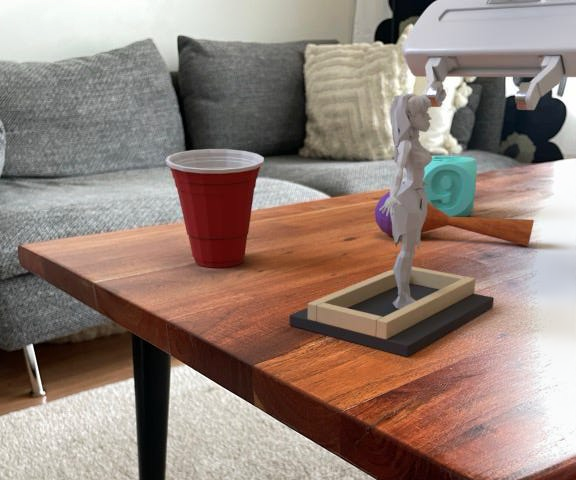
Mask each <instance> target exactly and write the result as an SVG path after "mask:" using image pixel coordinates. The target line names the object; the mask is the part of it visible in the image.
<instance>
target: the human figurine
mask: <svg viewBox="0 0 576 480" xmlns="http://www.w3.org/2000/svg"><path fill="white" fill-rule="evenodd" d="M431 106H432V105H431V100H430V99H429V98H428V97H425V96H422V95H418V94H416V93H414V92H411V93H408V92H404V93H403V94H398V95H395V96H394V99H393V101H392V104H391V105H390V108H389V119H390V125H391V133H392V141H393V159H394V160H393V161H394V163H395V164H396V166H397V170H396V171H395V173H394V174H393V176H392V178H391V182H390V186H389V192H390V197H389V198H387V199H386V201H385V204H384V205H383V206H382V208H380V211H381V210H382V209H383V208H385V209H384V210H383V212H382V214H383V213H384V212H385V210H386V209H387V208H388V211H387V214H386V216H388V214H389V211H390V216H391V221H392V231H393V236H392V237H393V240H394V245H395V248H397V247H398V245H399V243H400V251H399V252H398V254H397V256H396V258H395V261H394V264H393V267H392V269H393V271H394V275H395V278H396V282H397V287H398V295H399V296H398V297H397V299H396V300H395V301H394V302H393V304H394V306H395V307H396V308H399V309H401V308H403V307H405V306H407V305H409V304H411V303H414V302H416V300H414V299H413V298H411V297H410V288H409V282H410V278H411V270H412V267H413V262H414V258H415V255H416V247H417V250H418V251H421V250H420V249H421V234H422V233H421V229H422V226H423V224H424V222H425V220H426V215H427V201H428V197H427V196H426V194H425V193H424V192H425V190H424V188H423V185H425V184H426V185H428V186H429V184H428V183H427V182H425V181H424V180H423V178H424V174H425V169H424V168H425V167H426V166H427V165H428V164H429V163H430V162H431V161H432V156H433V155H431V153H430V152H429V151H428V150H427V149H426V148H425V147H424V146H423V145H422V143H421V141H420V140H419V138H420V132H423V133H426V132H428V131H429V129H430V128H431V122H430V121H431V120H432V117H431V116H430V113H429V110H430V109H431V108H432V107H431ZM404 169H405V170H406V180H405V181H403V178H404V176H403V175H404ZM422 189H423V190H422Z"/></svg>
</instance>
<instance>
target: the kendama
mask: <svg viewBox="0 0 576 480" xmlns="http://www.w3.org/2000/svg"><path fill="white" fill-rule="evenodd" d="M389 197H390V191H388V192H387V193H385V194H383V196H381V197H380V198H379V200H378V202H377V204H376V205H375V208H374V217H375V218H374V219H375V223H376V226H378V228H379V229H380V230H381V232H383V233H384V234H386V235H388V236H390V237H393V231H392V221H391V216H390V211H389V214H388V216H386V214H387V211H388V208H387V209H386V210H385V212H384V213H383V214H382V212H383V210H384V209H385V208H383V209H382V210H381V211H380V208H382V206H383V205H384V204H385V201H386V199H387V198H389ZM534 222H535V219H528V218H527V219H524V218H523V219H522V218H497V217H496V218H494V217H469V216H467V217H449V216H448V215H446V214H445V213H443V212H442V211H440V210H439V209H437V208H436V207H434V206H433V205H431V204H430V203H428V202H427V215H426V220H425V222H424V224H423V226H422V229H421V234H423V233H426V232H430V231H433V230H437V229H441V228H445V227H447V226H449V227H453V228H456V229H461V230H463V231H468V232H472V233H475V234H479V235H481V236H482V235H483V236H486V237H490V238H494V239H497V240H500V241H505V242H509V243H513V244H516V245H520V246H524V247H529V245H530V240H531V236H532V231H533V227H534Z"/></svg>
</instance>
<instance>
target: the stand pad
mask: <svg viewBox="0 0 576 480" xmlns="http://www.w3.org/2000/svg"><path fill="white" fill-rule="evenodd" d="M476 280H477V279H476V278H475V277H471V276H464V275H460V274H455V273H450V272H444V271H439V270H434V269H427V268H421V267H418V266H412V270H411V278H410V282H409V288H410V297H411V298H413V299H414V300H416V302H414V303H411V304H409V305H407V306H405V307H403V308H401V309H399V308H396V307H395V306H394V304H393V302H394V301H395V300H396V299H397V297H398V296H399V295H398V287H397V282H396V278H395V275H394V271H393V268H392V269H390V270H387V271H384V272H382V273H379V274H377V275H375V276H372V277H370V278H367V279H365V280H362V281H360V282H357V283H355V284H352V285H350V286H347V287H344V288H343V289H340V290H337V291H334V292H332V293H330V294H327V295H324V296H322V297H320V298H316V299H314V300H313V301H310V302H308V303H307V307H306V308H303V309H301V310H298V311H296V312H294V313H291V314H289V326H291V327H293V328H294V327H295V328H298V329H301V330H306V331H309V332H312V333H316V334H320V335H323V336H328V337H331V338H335V339H339V340H343V341H347V342H350V343H353V344H357V345H361V346H365V347H368V348H371V349H372V348H373V349H376V350H379V351H382V352H383V351H384V352H387V353H391V354H395V355H398V356H402V357H406V358H408V357H410V356H412V355H413V354H415V353H416V352H419V351H420V350H422V349H423V348H426V347H427V346H428V345H431V344H432V343H434V342H435V341H437V340H439V339H441V338H442V337H444V336H446V335H448V334H449V333H451V332H453V331H454V330H457V329H458V328H460V327H462V326H463V325H465V324H466V323H468V322H470V321H472V320H474V319H475V318H477V317H479V316H481V315H483V313H485V312H487V311H489V310H491V309H492V308H493V307H494V299H495V298H494V297H493V296H488V295H485V294H479V293H475V288H476Z"/></svg>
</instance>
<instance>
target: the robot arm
mask: <svg viewBox="0 0 576 480" xmlns="http://www.w3.org/2000/svg"><path fill="white" fill-rule="evenodd" d="M401 50H402V55H403V58H404V62H405V63H406V65H407V68H408V69H409V71H410V73H411V74H412V75H413V76H414V77H417V78H418V77H419V78H421V77H423V78H424V77H426V81H427V84H426V85H425V88H424V90H423V92H422V95H421V96H425V97H428V98H429V99H430V100H431V105H432V106H431V107H430V108H441V107H442V106H443V102H444V101H445V99H446V97H447V92H446V90H445V89H444V84H443V83H444V82H445V80H446V78H447V77H448V78H449V77H450V78H454V77H456V78H532V80H531V81H527V82H525V81H524V82H523V81H522V82H520V84H519V87H518V90H517V91H516V93H515V95H514V102H515V105H516V109H517V110H521V111H522V110H523V111H534V110H535V109H536V107H537V105H538V103H539V101H540V99H541V97H544V96H545V95H546V94H547V93H549V92H550V91H551V90H553V89H554V88H555V87H556V86H558V85H559V84H560V83H561V80H562V79H563V78H576V0H435V1H433V2H432V3H431V4H430V5H428V7H426V9H425V10H424V11H423V12H422V14H420V16H419V18H418V19H417V20H416V21H415V24H414V25H413V27H412V28H411V30H410V31H409V33H408V34H407V36H406V38H405V39H404V41H403V44H402V46H401Z"/></svg>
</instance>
